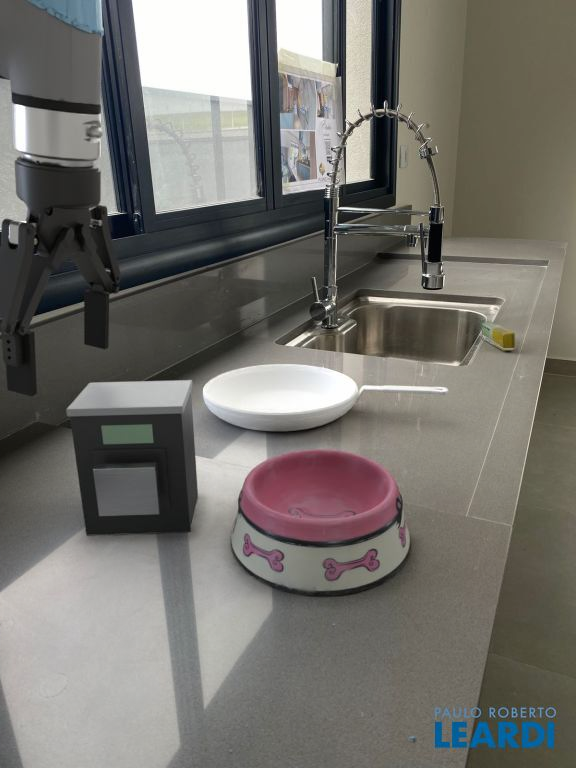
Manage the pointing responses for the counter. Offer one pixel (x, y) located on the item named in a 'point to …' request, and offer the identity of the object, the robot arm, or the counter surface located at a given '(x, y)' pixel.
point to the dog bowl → (320, 523)
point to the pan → (288, 396)
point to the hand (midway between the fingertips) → (62, 367)
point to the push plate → (127, 489)
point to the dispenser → (137, 449)
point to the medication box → (498, 335)
